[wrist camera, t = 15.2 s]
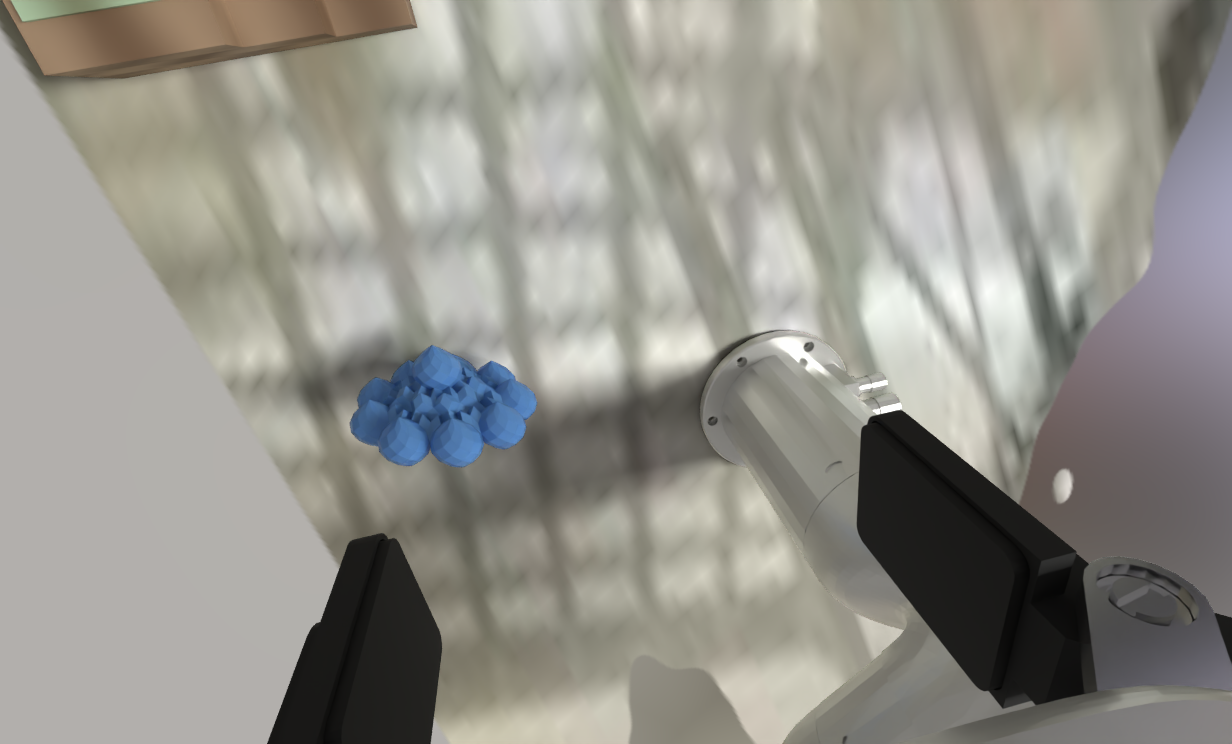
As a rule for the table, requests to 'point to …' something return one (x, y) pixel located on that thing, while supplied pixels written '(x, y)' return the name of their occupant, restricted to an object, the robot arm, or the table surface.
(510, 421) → the grapes
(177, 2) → the step riser
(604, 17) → the table surface
